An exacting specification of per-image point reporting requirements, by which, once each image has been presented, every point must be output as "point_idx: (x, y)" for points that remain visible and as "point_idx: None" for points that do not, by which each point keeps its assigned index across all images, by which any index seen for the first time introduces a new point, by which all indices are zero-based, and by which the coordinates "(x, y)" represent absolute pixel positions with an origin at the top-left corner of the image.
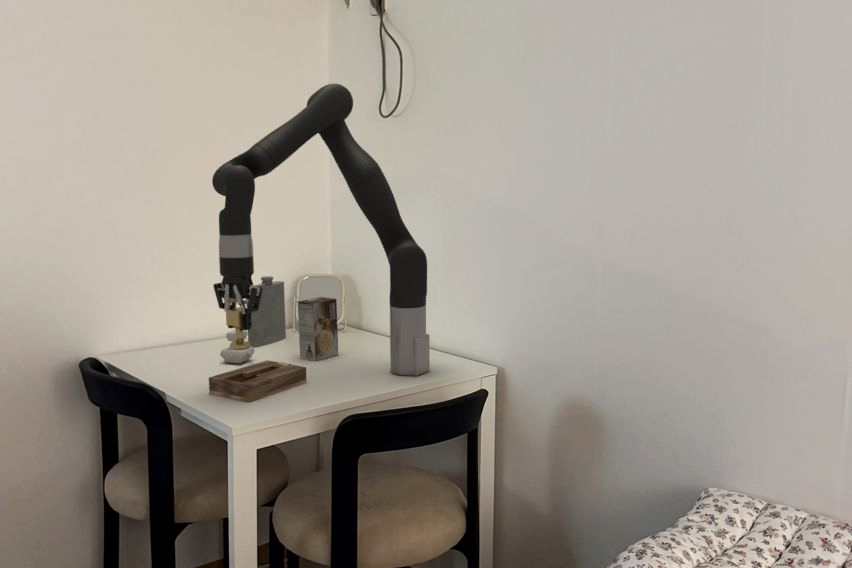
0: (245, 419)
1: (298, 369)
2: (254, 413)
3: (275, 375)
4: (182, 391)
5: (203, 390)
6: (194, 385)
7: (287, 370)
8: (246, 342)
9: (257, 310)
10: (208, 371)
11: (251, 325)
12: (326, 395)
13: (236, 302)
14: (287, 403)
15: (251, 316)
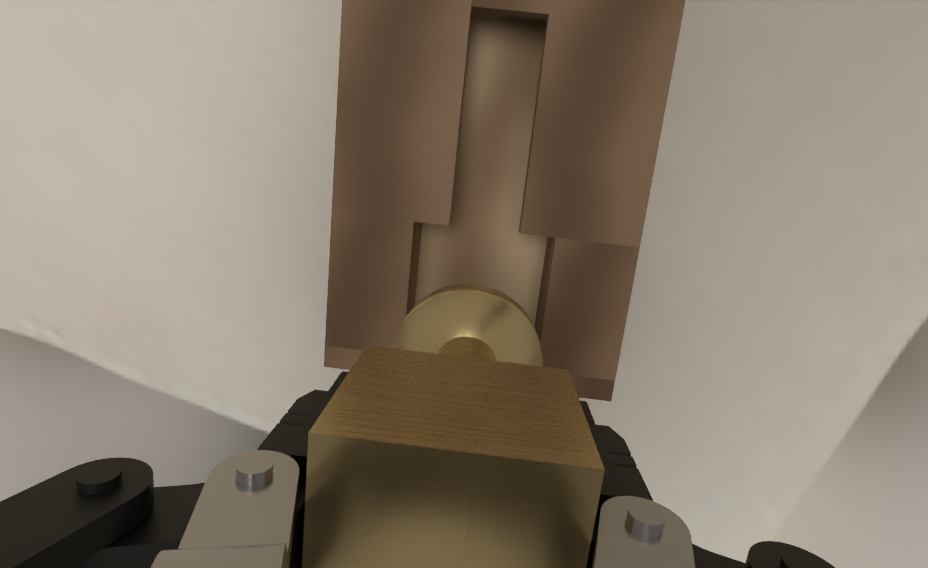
0: (713, 536)
1: (682, 3)
2: (704, 471)
3: (625, 184)
4: (219, 362)
5: (287, 313)
6: (189, 269)
7: (629, 56)
8: (488, 314)
9: (804, 551)
10: (36, 30)
11: (621, 439)
12: (889, 128)
13: (288, 560)
14: (764, 314)
15: (581, 407)
